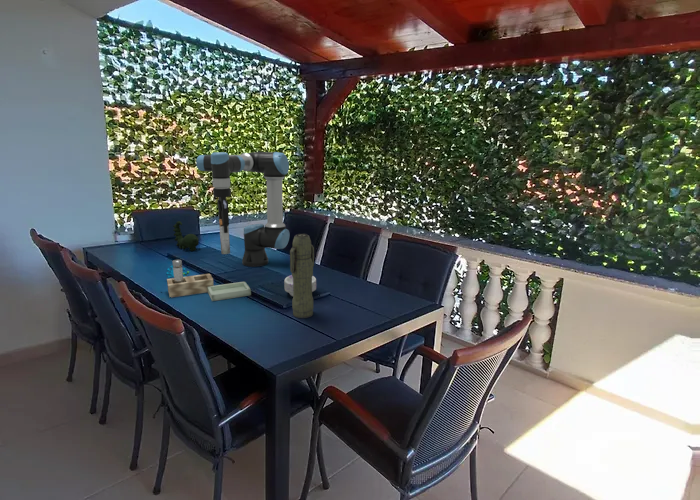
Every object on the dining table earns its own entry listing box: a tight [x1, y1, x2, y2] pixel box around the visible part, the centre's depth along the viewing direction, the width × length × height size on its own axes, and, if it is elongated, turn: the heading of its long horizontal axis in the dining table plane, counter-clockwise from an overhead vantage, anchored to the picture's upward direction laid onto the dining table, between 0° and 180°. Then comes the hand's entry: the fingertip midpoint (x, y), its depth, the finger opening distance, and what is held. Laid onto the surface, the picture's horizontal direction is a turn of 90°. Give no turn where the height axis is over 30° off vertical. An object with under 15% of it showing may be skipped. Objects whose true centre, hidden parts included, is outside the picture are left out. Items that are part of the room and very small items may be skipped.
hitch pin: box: [218, 218, 231, 255], centre depth 194 cm, size 4×4×16 cm
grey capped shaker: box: [172, 259, 184, 283], centre depth 201 cm, size 4×4×16 cm
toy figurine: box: [172, 220, 200, 252], centre depth 274 cm, size 9×19×25 cm
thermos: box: [289, 233, 315, 319], centre depth 177 cm, size 9×12×35 cm
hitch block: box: [166, 273, 215, 298], centre depth 204 cm, size 20×10×6 cm, turn 117°
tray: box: [207, 281, 252, 302], centre depth 202 cm, size 18×12×3 cm, turn 117°
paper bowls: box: [283, 274, 317, 297], centre depth 202 cm, size 15×15×8 cm
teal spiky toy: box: [166, 264, 190, 279], centre depth 220 cm, size 11×6×10 cm
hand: (224, 238), depth 195 cm, fingers closed on hitch pin, 4 cm apart
